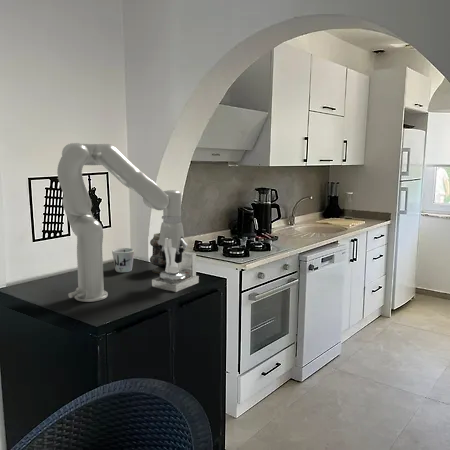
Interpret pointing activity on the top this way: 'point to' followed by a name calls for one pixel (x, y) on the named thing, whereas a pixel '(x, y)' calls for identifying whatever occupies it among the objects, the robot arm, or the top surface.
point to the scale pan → (173, 275)
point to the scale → (190, 279)
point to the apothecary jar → (157, 255)
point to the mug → (123, 259)
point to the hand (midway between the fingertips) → (172, 261)
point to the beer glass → (170, 257)
